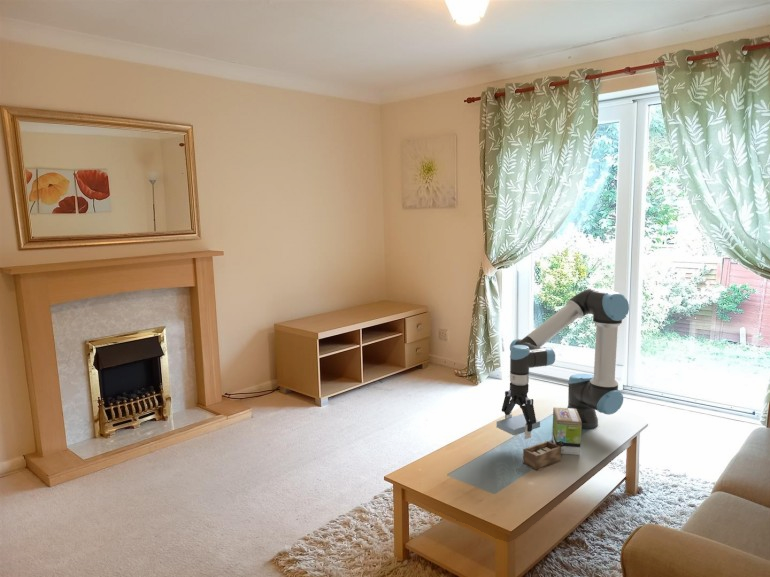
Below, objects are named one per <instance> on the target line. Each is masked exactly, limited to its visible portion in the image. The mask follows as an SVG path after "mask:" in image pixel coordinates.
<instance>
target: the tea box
mask: <svg viewBox="0 0 770 577" xmlns="http://www.w3.org/2000/svg"><path fill="white" fill-rule="evenodd" d="M582 429H583V428H582V422H581V419H580V417H579V414H578V412H577V409H572V408H567V407H553V412H552V432H551V433H552V434H551V435H552V443H554V444H556V445H558V446H560V447H561V455H575V456H576V455H577V456H580V455H581V445H582V444H581V442H582Z"/></svg>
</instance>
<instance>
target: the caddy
mask: <svg viewBox="0 0 770 577" xmlns="http://www.w3.org/2000/svg"><path fill="white" fill-rule="evenodd" d="M561 461H562V454H561V447H560V446H558V445H556V444H554V443H553V441H552V442H551V441H549V440H545V441H542V442H540V443H537V444H534V445H531V446H530V447H529V446H528V447H526V448H523V451H522V464H524V465H525V466H527V467H528V468H531V469H532V470H535V471H539V470H542V469H544V468H547V467H549V466H550V467H551V465H554V464H557V463H560V462H561Z"/></svg>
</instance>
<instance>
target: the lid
mask: <svg viewBox="0 0 770 577" xmlns="http://www.w3.org/2000/svg"><path fill="white" fill-rule="evenodd" d="M529 421H530V420H529ZM525 423H526V420H525V417H524V414H523V413H521V414H517V415H512V417H510V418H507V419H505V418H504V419H500V420H497V421H496V428H497V429H499V430H501V431H503V432H505V433H508V434H509V435H512V436H517V435H520V434H523V433H525ZM540 427H541V421H540V420H538V419H536V423H534V424H532V431H533V430H535V429H536V430H537V429H538V428H540Z"/></svg>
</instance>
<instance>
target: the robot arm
mask: <svg viewBox="0 0 770 577" xmlns="http://www.w3.org/2000/svg"><path fill="white" fill-rule="evenodd" d="M629 311H630V304H629V300H628V299H627V298H626V296H625V295H623V294H622V293H619V292H617V291H614V290H608V289H601V288H596V287H593V288H588V289H584V290H582V291H581V292H579V293H577V294H575V295H574V296H573V297H571V298H569V299H568V300H567V301H566V304H565V305H564V306H563V307H562V308H560V309H559V310H558V311H556V313H554V314H553V315H552V316H550V317H549V318H548V319H546V320H545V321H544V322H542V323H541V324H540V325H538V327H536V328H535V329H533V330H532V331H531V332H530V333H528V334H527V335H526V336H524V337H523V338H522V339H518V338H517V339H514V340H512V342H511V343H510V345H509V351H510V354H509V355H510V356H509V359H510V360H509V363H510V364H509V381H510V382H509V390H505V391H504V399H503V402H502V406H501V412H502V413H504V414H505V416H504V419H507V418H510V417H513V414H512V411H513V409H514V407H515V406H516V405H517V406H519V409H520V410H522V414H524V417H525V420H526V423H525V432H524V439H525V440H528V439H531V437H532V435H531V434H532V431H533V430H532V424H534V423H536V420H537V418H536V412H535V407H534V398H528V394H529V388H530V387H529V386H530V385H529V379H530V378H529V377H530V376H529V375H530V369H533V368H540V367H547V366H551V365H553V364H555V361H556V352H555V351H554V349H553V348H552V347H548V346H547V347H546V346H544V345H545V344H547V343H548V342H549V341H550V340H551V339H553V338H554V337H555V336H556V335H557V334H559V333H560V332H562V331H563V330H565V328H567V327H568V326H569V325H571V324H572V323H574V321H575V320H578V319H582V318H583V317H585V316H586V315H593V316H592V322H593V323H594V324H595V328H596V330H595V347H594V363H593V364H594V366H593V374H590V373H574V374H572V375H570V376H569V379H568V384H567V385H568V393H567V394H568V396H567V397H568V398H567V399H568V401H567V402H568V403H567V404H568V405H567V407H566V408H572V409H577V412H578V414H579V417H580V419H581V422H582V428H581V429H587V430H588V429H594V428H596V427H597V426H598V425H599V418H598V416H597V412H598V413H601V414H604V415H607V416H608V415H613V414H615V413H617V412H618V411H619V410H620V408H621V407H622V405H623V404H624V395H623V393H622V392H621V391H620V390H619V382H618V381H617V380H616V365H617V364H616V362H617V347H618V345H617V344H618V330H619V329H618V328H619V326H620V325H622V323H623V320H625V318H627V315H628V314H629ZM543 346H544V347H543ZM621 409H622V408H621ZM596 411H597V412H596ZM529 420H530V421H529Z"/></svg>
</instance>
